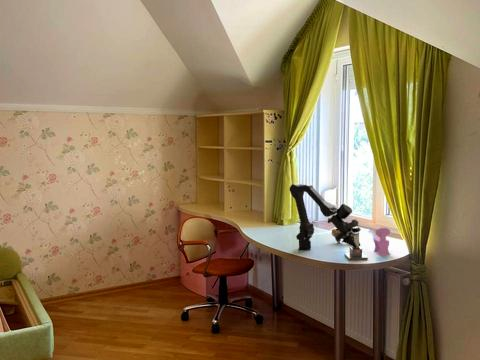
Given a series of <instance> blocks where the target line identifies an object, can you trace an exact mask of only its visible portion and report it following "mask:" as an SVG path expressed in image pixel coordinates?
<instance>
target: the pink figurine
mask: <svg viewBox="0 0 480 360" xmlns="http://www.w3.org/2000/svg"><path fill="white" fill-rule="evenodd" d="M390 234H391V230H390V228H388V227H379V228H377V229H376V230H375V235H376V236H377V237H379V238H373V242H374V250H373V251H374V252H378V256H389V255H391V253H390V251H389V246H390V240H388V239H387V236H389V235H390Z"/></svg>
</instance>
